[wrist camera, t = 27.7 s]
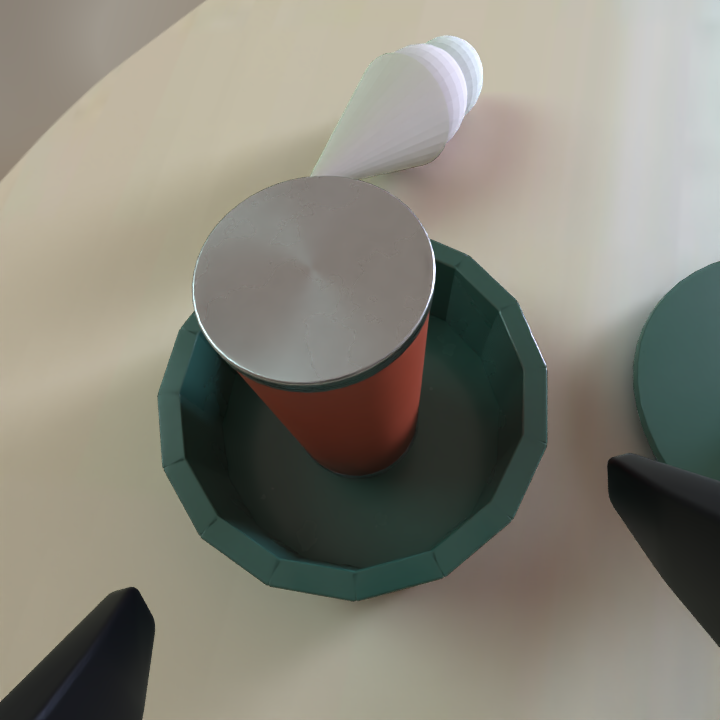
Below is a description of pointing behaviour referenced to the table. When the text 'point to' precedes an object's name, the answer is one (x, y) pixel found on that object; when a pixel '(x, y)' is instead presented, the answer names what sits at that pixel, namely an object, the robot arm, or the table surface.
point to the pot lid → (682, 375)
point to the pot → (374, 494)
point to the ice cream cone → (404, 109)
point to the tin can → (324, 314)
